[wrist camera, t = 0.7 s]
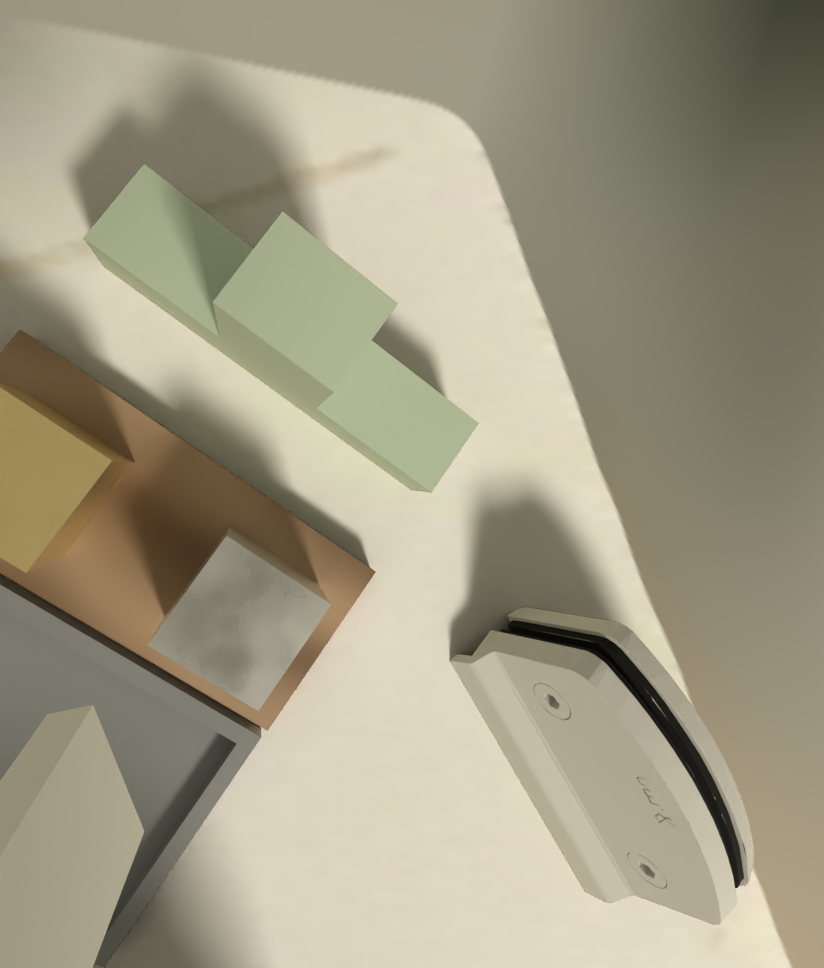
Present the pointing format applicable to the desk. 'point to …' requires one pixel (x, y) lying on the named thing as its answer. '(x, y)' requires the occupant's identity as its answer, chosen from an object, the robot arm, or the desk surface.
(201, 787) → the tray
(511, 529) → the desk surface
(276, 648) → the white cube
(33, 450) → the mustard yellow cube
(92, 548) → the deck
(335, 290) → the stepped sage beam
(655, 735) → the white curved block
